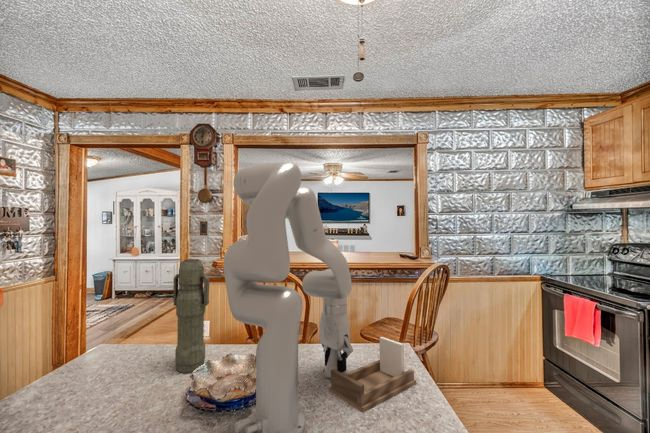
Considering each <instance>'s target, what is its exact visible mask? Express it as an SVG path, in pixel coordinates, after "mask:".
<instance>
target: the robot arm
mask: <svg viewBox="0 0 650 433" xmlns="http://www.w3.org/2000/svg"><path fill="white" fill-rule="evenodd" d="M232 185H233V189H234V192H235V193H236V195H237V197H238V198H240V200H241V201H243V202H244V203H245V204H247V205H249V209H248V210H247V211H248V212H247V216H246V233H247V239H242V240H236V241H235V242H234V243H233V242H232V244H230V245H229V246H228V248H227V250H226V252H225V255H224V256H223V257H224V258H223V262H222V263H223V264H222V266H223V275H224V281H225V287H226V292H227V300H228V306H229V309H230V312H231V314H232V317H233V318H234V319H235V320H236V321H237V322H239V323H242V324H246V325H251V326H256V327H260V328H263V329H264V331H263V333H262V335H261V336H260V338H259V340H258V343H257V345H256V348H255V349H256V350H255V377H256V378H255V407H254V408H251V414H250V415H248V416H247V418H245V419H241V420H239V421H237V422H234V431H235V432H236V433H241V432H243V431H245V433H304V431H305V428H306V417H305V415H304V414H303V413H302V412H301V411H300V410H299V335H300V333H299V332H300V326H301V319H302V313H303V304H304V303H303V299H302V296H301V295H300V293H299V292H298V291H297V290H295V289H293V288H292V287H290V286H284V285H278V284H277V285H274V284H272V283H279V282H282V281H285V279H287V278H288V277H289V274H290V272H291V271H290V270H291V258H290V250H289V242H288V235H287V227H286V226H287V225H286V219H287V220H288V223H289V225H290V228H291V232H292V235H293V239H294V243H295V245H296V247H297V248H298V249H299V250H300V251H301V252H304V253H306V254H307V255H309V256H312V257H314V258H315V259H317V260H319V261H321V262H322V263H323V264H325V265H326V266H327V267H328V268H327V269H324V270H312V271H310V272H309V271H308V273H306V274H305V276H304V277H303V279H302V282H301V287H302V290H303V292H304V293H305V294H306V295H307V296H309V297H314V298H320V299H321V298H322V311H321V314H320V320H319V330H318V331H319V334H318V336H319V337H318V340H319V342H320V344H321V346H322V348H323V353H324V366H325V367H326V365H327V362H328V359H329V356H330V351H331V349H334V350H336V351H337V352H338V357H339V359H337V371H339V372H341V373H342V372H344V371H346V372H347V359H348V358H349V356H350V355H351V354H352V353H353V352H354V349H353V346H352V343H351V328H350V320H349V316H348V297H349V296H350V294H351V292H352V288H353V287H352V276H351V271H350V268H349V263H348V261H347V258H346V257H345V255H344V254H343V253H342V252H341V250H340V249H339V248H338V247H337V246H336V245H335V244H334V243H333V242H332V241H330V239H328V237H327V236H326V233H325V227H324V225H323V221H322V217H321V212H320V208H319V204H318V200H317V197H316V194H315V192H314V190H313V189H312V188H310V187H309V186H304V185H302V171H301V169H300V168H299V166H298V164H295V163H293V162H289V161H279V162H271V163H264V164H258V165H250V166H245V167H243V168H240V169H239V170H238V171H237V172H236V173H235V175H234V177H233V184H232ZM263 283H264V284H263ZM265 283H268V284H265ZM269 283H271V284H269Z"/></svg>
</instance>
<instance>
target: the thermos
mask: <svg viewBox="0 0 650 433" xmlns="http://www.w3.org/2000/svg"><path fill="white" fill-rule="evenodd" d="M204 271H205V268H204V264H203V261H202V260H200V259H198V258H197V259H195V258H194V259H190V258H189V259H184V260H182V261H181V263H180V265H179V268H178V273H177V274H176V275H174V277H173V296H172V297H173V306H175V311H176V312H175V315H176V317H177V338H176V339H177V340H176V341H177V345H176V347H175V351H174V352H175V355H174V356H175V359H174V360H175V372H176V371H177V372H179V373H178V374H180V373H183V374H182V375H188V374H193V373H192V372H193V371H194V370H195V369H196V368H198V367H199V366H201V365H203V364H204V363H205V360H206V344H205V338H204V337H205V336H204V335H205V334H204V332H205V329H204V327H205V324H204V323H205V322H204V321H205V320H204V318H205V313H206V307H207V306H208V305H209V303H210V297H209V296H210V277H209V275H208V274H205V272H204ZM177 372H176V373H177Z"/></svg>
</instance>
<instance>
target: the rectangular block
mask: <svg viewBox="0 0 650 433" xmlns="http://www.w3.org/2000/svg"><path fill="white" fill-rule="evenodd" d="M378 340H379V360H380V371H382V372H384V373H386V374H389V375H391V376H393V377H395V376H397V375H399V374H401V373H403V372H405V350H404V349H405V344H404V343H402V342H399V341H396V340H392V339H389V338H387V337H384V336H380V337H379V339H378Z"/></svg>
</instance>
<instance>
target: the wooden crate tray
mask: <svg viewBox="0 0 650 433" xmlns="http://www.w3.org/2000/svg"><path fill="white" fill-rule="evenodd" d="M416 385H417V379H415V370H413V369H411V368H410V369H408V370H404V372H403V373H401V374H399V375H397V376H395V377H393V376H391V375H389V374H386V373H384V372H382V371H380V359H378V360H376V361H373V362H371V363H368V364H366V365H363V366H361V367H359V368H356V369H354V370H351V371H348V372H346V374H343V373H341V372H339V371H337V370H335V369H333V370H331V378H330V387H329V388H328V392H329V393H331V394H332V395H334V396H336V397H337V398H339V399H341V400H342V401H344V402H345V403H347V404H349V405H350V406H352V407H353V408H355V409H357V410H359V411H360V412H362V413H365V412H367V411H369V410H371V409H372V408H374V407H376V406H378V405H380V404H382V403H384V402H386V401H388V400H389V399H391V398H393V397H396V396H397V395H398V394H401V393H402V392H404V391H406V390H408V389H410V388H412V387H414V386H416Z"/></svg>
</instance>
